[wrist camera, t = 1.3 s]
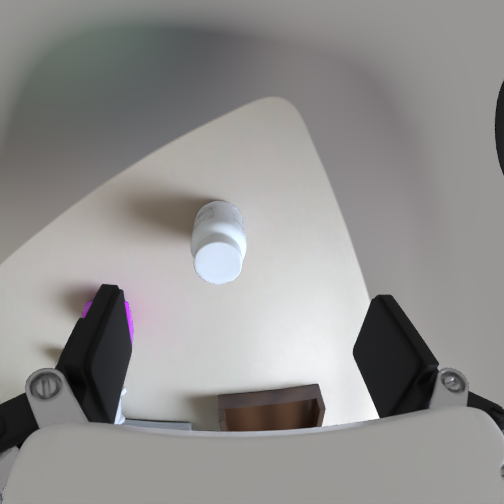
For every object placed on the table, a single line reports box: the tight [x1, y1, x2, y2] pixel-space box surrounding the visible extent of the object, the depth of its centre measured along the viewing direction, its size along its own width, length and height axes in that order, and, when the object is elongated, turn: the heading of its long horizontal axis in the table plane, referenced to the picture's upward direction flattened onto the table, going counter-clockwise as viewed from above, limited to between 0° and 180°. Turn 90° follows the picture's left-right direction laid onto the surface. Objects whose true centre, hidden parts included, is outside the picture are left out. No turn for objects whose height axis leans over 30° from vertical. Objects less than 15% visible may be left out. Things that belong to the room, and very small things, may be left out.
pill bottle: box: [191, 201, 247, 284], centre depth 26 cm, size 4×4×8 cm
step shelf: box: [218, 384, 326, 432], centre depth 40 cm, size 14×16×11 cm
